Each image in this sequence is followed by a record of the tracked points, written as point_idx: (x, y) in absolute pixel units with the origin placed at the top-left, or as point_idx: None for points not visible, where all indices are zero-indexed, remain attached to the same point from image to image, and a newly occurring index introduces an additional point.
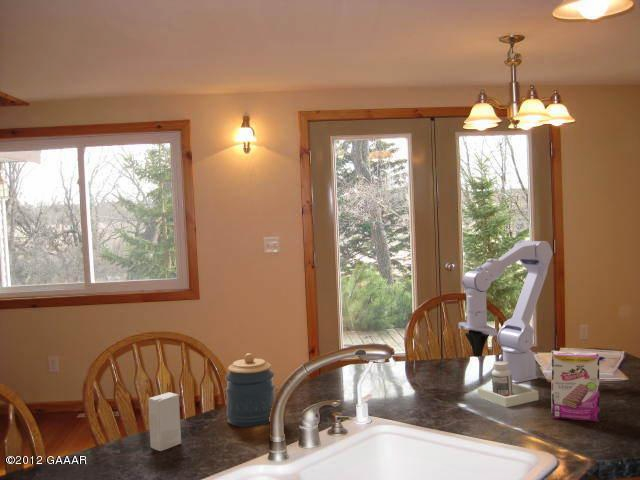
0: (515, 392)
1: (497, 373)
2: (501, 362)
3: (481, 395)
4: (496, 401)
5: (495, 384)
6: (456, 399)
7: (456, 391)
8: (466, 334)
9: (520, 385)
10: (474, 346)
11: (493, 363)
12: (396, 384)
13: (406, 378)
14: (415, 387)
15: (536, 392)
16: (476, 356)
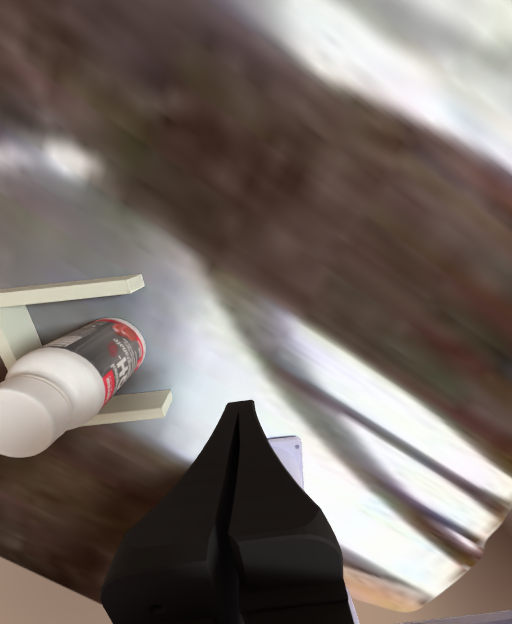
0: (134, 395)
1: (19, 361)
2: (13, 431)
3: (118, 277)
4: (41, 285)
5: (70, 333)
6: (141, 183)
7: (232, 243)
8: (293, 525)
9: (112, 421)
10: (222, 446)
11: (26, 392)
12: (452, 47)
13: (491, 154)
14: (361, 113)
15: None
16: (228, 403)
